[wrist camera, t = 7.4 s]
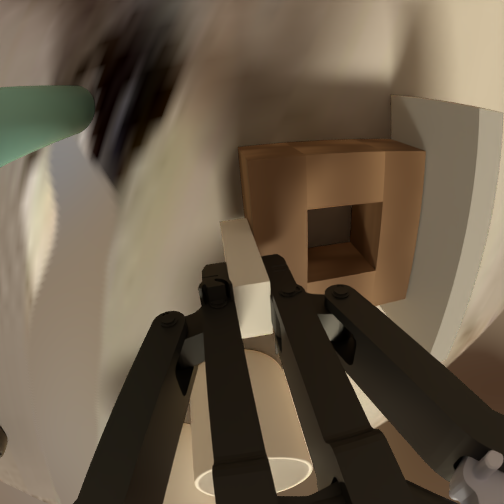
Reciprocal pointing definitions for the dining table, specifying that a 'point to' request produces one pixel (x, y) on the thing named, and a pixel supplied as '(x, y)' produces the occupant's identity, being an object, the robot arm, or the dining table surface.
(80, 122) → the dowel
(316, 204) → the block
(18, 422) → the dining table surface
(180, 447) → the mug
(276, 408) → the cup
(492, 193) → the wall
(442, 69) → the dining table surface
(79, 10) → the dining table surface
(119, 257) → the dining table surface
